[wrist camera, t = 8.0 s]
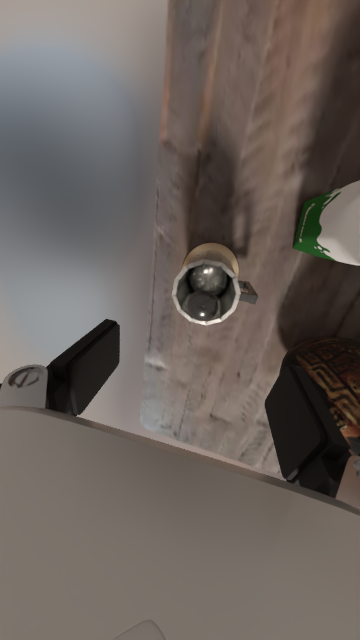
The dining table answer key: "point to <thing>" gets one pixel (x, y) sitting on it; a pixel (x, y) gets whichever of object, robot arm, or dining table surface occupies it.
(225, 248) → the cork coaster
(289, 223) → the dining table surface
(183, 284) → the white mug
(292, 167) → the dining table surface
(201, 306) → the ball-topped lever
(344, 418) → the ceramic vessel
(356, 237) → the milk carton
